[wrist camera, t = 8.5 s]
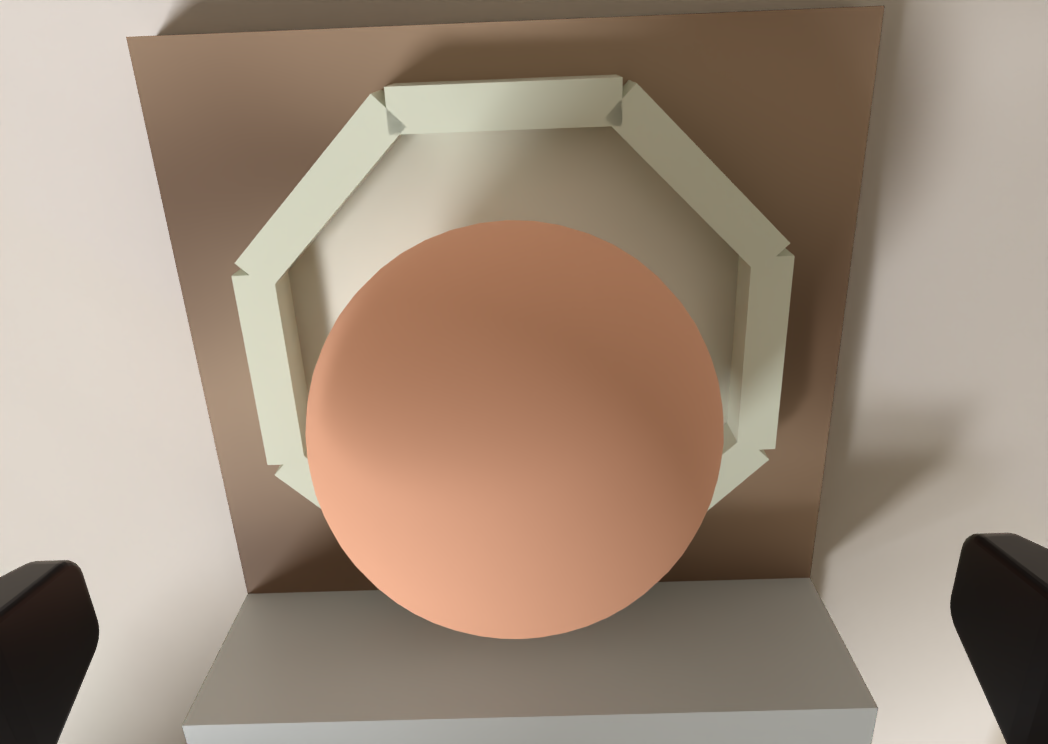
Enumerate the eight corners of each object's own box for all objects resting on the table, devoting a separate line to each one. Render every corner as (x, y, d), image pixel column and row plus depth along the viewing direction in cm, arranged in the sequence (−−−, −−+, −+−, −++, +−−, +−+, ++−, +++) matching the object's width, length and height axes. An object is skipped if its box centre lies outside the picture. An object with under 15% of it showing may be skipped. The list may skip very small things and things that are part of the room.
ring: (749, 546, 16) (762, 577, 15) (304, 559, 16) (291, 590, 16) (792, 67, 13) (813, 69, 12) (219, 90, 13) (196, 94, 12)
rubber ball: (674, 486, 16) (758, 733, 10) (372, 497, 16) (289, 748, 10) (687, 179, 13) (807, 279, 8) (331, 193, 13) (195, 303, 8)
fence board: (756, 876, 22) (809, 1071, 18) (328, 885, 22) (282, 1082, 18) (860, 8, 13) (1012, -6, 9) (153, 37, 13) (-14, 37, 9)
